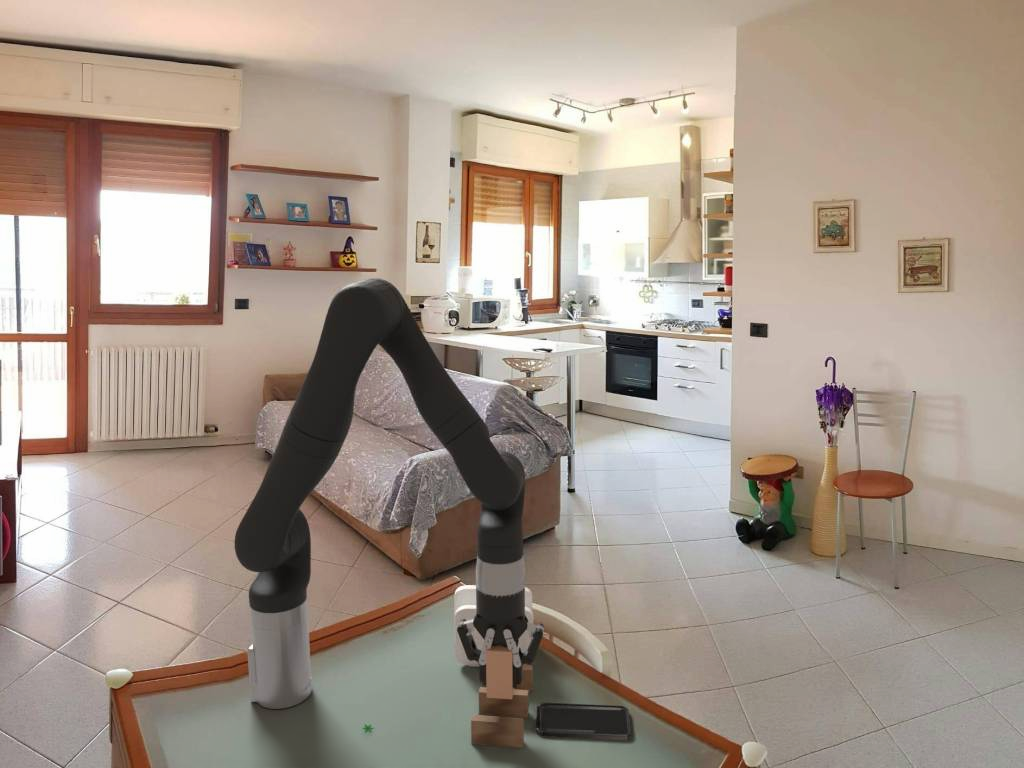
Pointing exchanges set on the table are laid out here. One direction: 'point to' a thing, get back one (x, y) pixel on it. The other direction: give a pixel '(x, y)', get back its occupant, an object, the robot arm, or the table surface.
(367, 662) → the table surface
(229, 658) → the table surface
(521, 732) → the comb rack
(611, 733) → the phone
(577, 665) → the table surface
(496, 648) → the plug block
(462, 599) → the cable organizer
